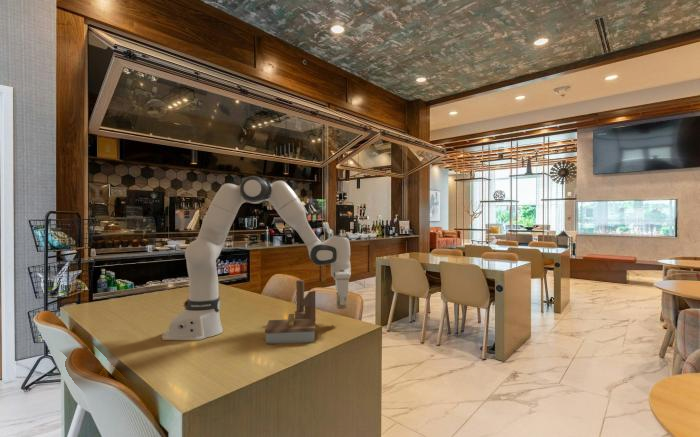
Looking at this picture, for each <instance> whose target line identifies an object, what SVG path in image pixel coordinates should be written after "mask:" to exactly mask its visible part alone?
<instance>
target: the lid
mask: <svg viewBox="0 0 700 437" xmlns="http://www.w3.org/2000/svg"><path fill="white" fill-rule="evenodd" d="M304 331H314V332H316V321H315V318H312V319H295V313H288V316H287V319H270V320H268V322H267V324H266V326H265V329H264V334H266V333H283V332H304Z"/></svg>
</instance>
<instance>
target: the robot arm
mask: <svg viewBox="0 0 700 437" xmlns="http://www.w3.org/2000/svg"><path fill="white" fill-rule="evenodd" d="M265 201H266V202H269V203H270V204H271V205H272V206H273V208H274V209H275V211H276V212H277V214H278V215H279V217H280V218H281V219H282V220H283V221H284V223H286V224H287V225H289V227H291V228H292V229H293V230H295V231H296V233H298V235H299V237H300V238H301V240H302V242H304V244H305V245H306V246H305V247H306V248H307V254H308V258H309V259H310V260H311V262H312V263H313V264H315V265H317V266H325V265H329V264H330V276H331V277H332V278H333V280H334V281H335V288H336V293H337V292H338V295H339V297H340V305H344V298H345V297H346V298H347V297H348V295H349V284H350V283H349V282H350V280H349V279H351V275H352V266H351V263H352V262H351V260H350V259H351V244H350V240H349V238H348V237H347V236H344V235H339V234H338V235H337V234H333V235H331V237H329V238H328V239H326V240H323V241H322V240H321V239H320V238H318V236H317V235H316V234H315V232H314V230H313V229H312V227H311V225H310V223H309V221H308V218H307V212H306V208H304V205H303V204H302V201H301V199H300V198H299V197H298V195H297V193H296V192H295V191H294V190H293V189H292V187H291V186H290V185H289V184H288V183H287V182H286V181H284V180H276V181H274V182H270V181H267V180H265V179H263V178H262V177H259V176H255V175H250V176H247V177H245V178H244V179H243V180H242V181H241V183H240V184H239V185H237V184H234V183H229V182H228V183H223V184H222V185H221V187H220V188H219V190H218V191H217V192H216V193H215V195H214V197H213V199H212V201H211V203H210V205H209V207H208V209H207V210H206V213H205V215H204V217H203V219H202V224H201V227H200V230H199V232H198V235H197V237H196V239H195V240H193V241H191V242H190V243H189V244H188V245H187V246H186V248H185V252H184V258H185V260H186V269H187V275H188V281H189V282H188V283H189V284H188V285H189V290H188V291H189V294H188V295H189V298H187V299H186V301H184V302H183V305H182V306H183V307H184V309H183V310H181V311H180V312H179V313H178V314H177V315H175V316H174V317H173V318H172V319H171V321H170V322H169V326H168V330H166V331H165V332H164V333H163V334H162V336H161V339H162V340H163V341H201V340H203V339H206V338H211V337H213V336H217V335H220V334H221V333H222V332H224V329H223V326H222V322H221V317H220V316H221V315H220V308H221V300H220V295H219V276H218V275H219V274H218V269H217V259H218V258H219V256H220V255H221V252H222V249H223V247H224V245H225V242H226V239H227V237H228V234H229V232H230V230H231V227H232V225H233V224H234V221H235V218H236V217H237V215H238V212H239V210H240V207H241V206H242V204H244V203H248V204H254V205H255V204H256V205H257V204H261V203H263V202H265Z"/></svg>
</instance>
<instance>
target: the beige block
mask: <svg viewBox="0 0 700 437" xmlns="http://www.w3.org/2000/svg"><path fill="white" fill-rule="evenodd" d="M347 303H348V302H347V297H345V298H344V305H340V297H339V295H338V292H337V291H336V309H337V310H344V309H345V310H347V309H348V308H347Z"/></svg>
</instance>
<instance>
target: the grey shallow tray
mask: <svg viewBox="0 0 700 437" xmlns="http://www.w3.org/2000/svg"><path fill="white" fill-rule="evenodd" d="M296 343H297V344H298V343H299V344H300V343H301V344H303V343H315V331H304V332H283V333H265V344H266V345H277V344H280V345H281V344H296Z"/></svg>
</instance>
